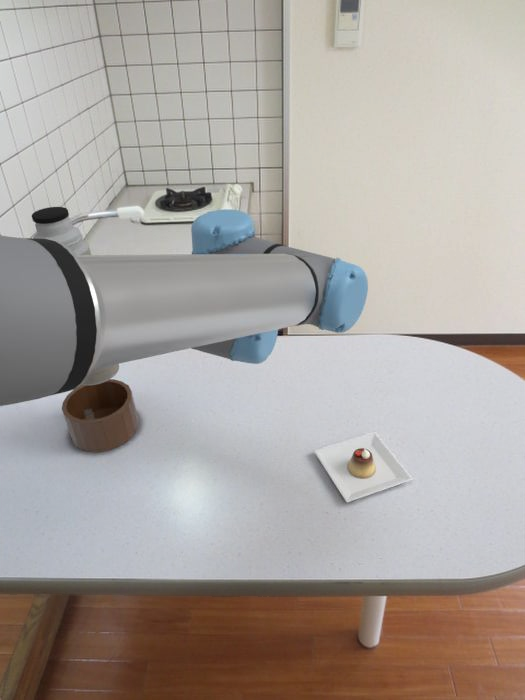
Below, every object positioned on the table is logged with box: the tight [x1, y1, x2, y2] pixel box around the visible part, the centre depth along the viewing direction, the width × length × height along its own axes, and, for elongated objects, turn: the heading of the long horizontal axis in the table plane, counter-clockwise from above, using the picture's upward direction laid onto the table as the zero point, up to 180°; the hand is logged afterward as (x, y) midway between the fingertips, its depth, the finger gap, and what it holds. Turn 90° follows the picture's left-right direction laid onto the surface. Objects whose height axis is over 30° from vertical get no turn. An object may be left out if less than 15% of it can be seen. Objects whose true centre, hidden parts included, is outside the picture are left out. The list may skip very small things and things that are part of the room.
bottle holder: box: [61, 378, 139, 453], centre depth 96 cm, size 12×12×7 cm
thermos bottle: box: [31, 206, 120, 385], centre depth 81 cm, size 8×8×28 cm
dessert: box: [313, 431, 414, 503], centre depth 86 cm, size 12×12×5 cm
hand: (50, 287), depth 83 cm, fingers closed on thermos bottle, 8 cm apart
